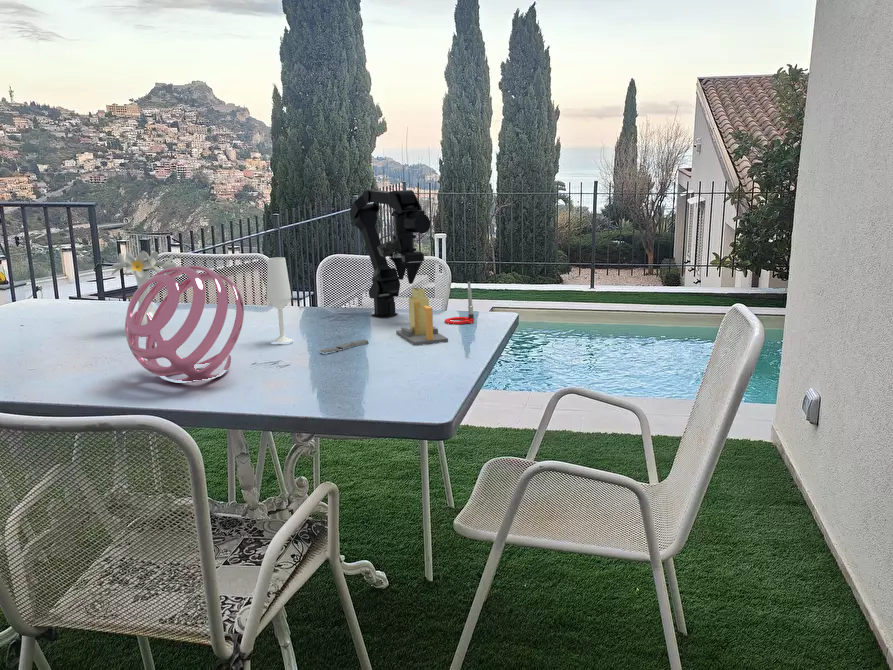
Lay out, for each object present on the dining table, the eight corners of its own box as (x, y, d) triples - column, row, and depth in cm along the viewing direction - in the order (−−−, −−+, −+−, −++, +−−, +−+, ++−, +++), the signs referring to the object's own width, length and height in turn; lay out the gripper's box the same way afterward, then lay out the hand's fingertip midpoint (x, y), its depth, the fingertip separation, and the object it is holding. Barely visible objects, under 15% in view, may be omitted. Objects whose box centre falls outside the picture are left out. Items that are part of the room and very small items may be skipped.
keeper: (396, 333, 212) (395, 300, 210) (427, 330, 216) (427, 297, 214) (414, 345, 198) (413, 310, 196) (448, 341, 202) (447, 306, 199)
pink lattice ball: (226, 281, 190) (147, 230, 167) (294, 317, 175) (217, 267, 152) (168, 372, 186) (79, 332, 164) (231, 418, 171) (143, 381, 148)
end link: (409, 332, 209) (408, 288, 206) (424, 331, 211) (423, 287, 208) (414, 335, 205) (413, 290, 202) (429, 334, 207) (428, 289, 204)
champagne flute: (265, 343, 203) (258, 259, 198) (281, 338, 209) (275, 256, 204) (284, 346, 200) (277, 260, 195) (299, 340, 206) (293, 257, 201)
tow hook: (444, 326, 223) (473, 324, 223) (441, 285, 221) (471, 283, 220) (445, 321, 232) (474, 319, 231) (442, 281, 229) (471, 279, 228)
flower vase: (188, 329, 224) (180, 248, 219) (132, 340, 210) (121, 255, 205) (165, 324, 232) (157, 246, 227) (110, 334, 218) (99, 252, 213)
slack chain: (318, 353, 191) (318, 350, 191) (359, 341, 204) (359, 338, 204) (328, 355, 189) (328, 352, 189) (369, 343, 202) (369, 340, 201)
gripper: (370, 230, 227) (372, 279, 231) (388, 235, 210) (390, 288, 214) (404, 228, 231) (405, 277, 235) (424, 233, 214) (425, 285, 218)
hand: (405, 281), depth 225 cm, fingers open, 9 cm apart
